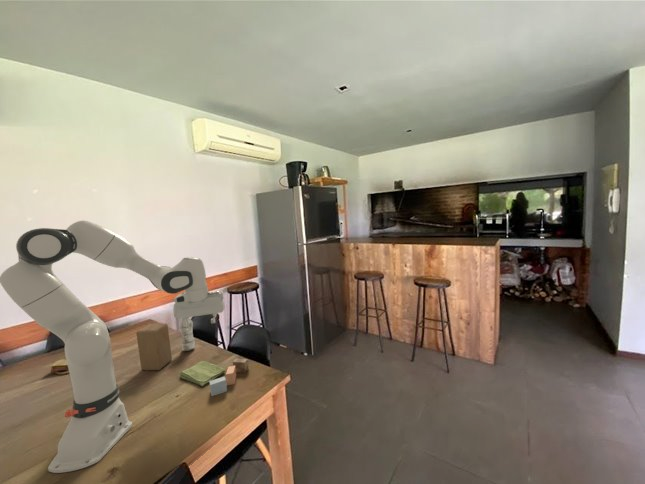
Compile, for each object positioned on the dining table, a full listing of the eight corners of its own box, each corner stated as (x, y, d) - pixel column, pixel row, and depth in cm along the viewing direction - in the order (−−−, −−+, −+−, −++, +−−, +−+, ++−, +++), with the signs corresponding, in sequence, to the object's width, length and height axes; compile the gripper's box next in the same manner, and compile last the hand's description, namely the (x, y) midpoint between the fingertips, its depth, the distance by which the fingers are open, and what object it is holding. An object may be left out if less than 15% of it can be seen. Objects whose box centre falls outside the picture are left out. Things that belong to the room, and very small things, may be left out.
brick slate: (225, 387, 116) (224, 376, 115) (227, 391, 113) (225, 379, 113) (210, 392, 113) (209, 381, 113) (211, 396, 110) (210, 385, 110)
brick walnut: (248, 369, 129) (247, 359, 128) (245, 372, 126) (244, 362, 125) (236, 368, 130) (235, 358, 130) (233, 372, 127) (232, 361, 127)
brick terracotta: (234, 384, 118) (233, 373, 117) (227, 385, 118) (225, 374, 117) (236, 376, 124) (235, 365, 123) (229, 377, 123) (228, 366, 123)
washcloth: (202, 389, 116) (202, 382, 116) (178, 378, 125) (177, 371, 125) (227, 372, 128) (227, 366, 127) (203, 364, 137) (202, 358, 136)
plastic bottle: (182, 348, 153) (178, 314, 151) (195, 345, 156) (191, 311, 154) (181, 354, 148) (177, 318, 146) (195, 350, 150) (191, 315, 148)
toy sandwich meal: (76, 373, 135) (75, 364, 134) (45, 377, 133) (44, 368, 132) (93, 360, 147) (92, 352, 147) (65, 364, 145) (63, 355, 145)
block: (173, 359, 142) (168, 322, 140) (159, 370, 132) (154, 331, 130) (155, 359, 143) (150, 323, 141) (140, 370, 133) (135, 331, 131)
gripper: (223, 288, 123) (227, 318, 125) (174, 295, 120) (179, 325, 122) (221, 292, 117) (225, 323, 119) (169, 299, 114) (175, 331, 115)
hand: (202, 324), depth 120 cm, fingers open, 8 cm apart
